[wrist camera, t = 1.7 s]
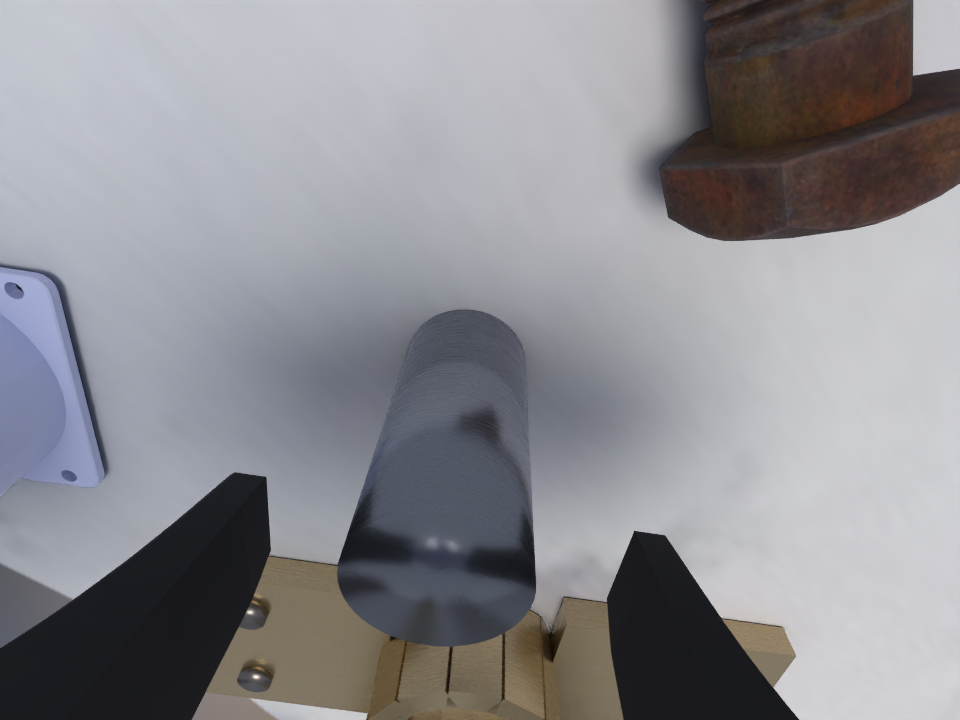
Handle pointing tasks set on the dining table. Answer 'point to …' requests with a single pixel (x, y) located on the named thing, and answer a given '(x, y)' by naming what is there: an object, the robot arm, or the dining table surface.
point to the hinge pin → (448, 492)
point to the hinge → (433, 659)
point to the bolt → (813, 122)
